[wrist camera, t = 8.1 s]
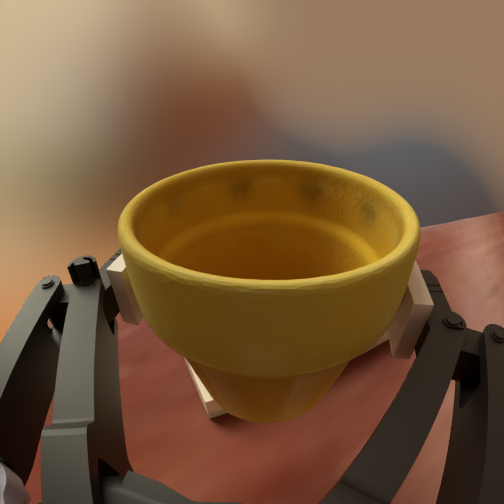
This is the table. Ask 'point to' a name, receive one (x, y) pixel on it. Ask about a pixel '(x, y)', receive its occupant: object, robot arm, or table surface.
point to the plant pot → (269, 275)
